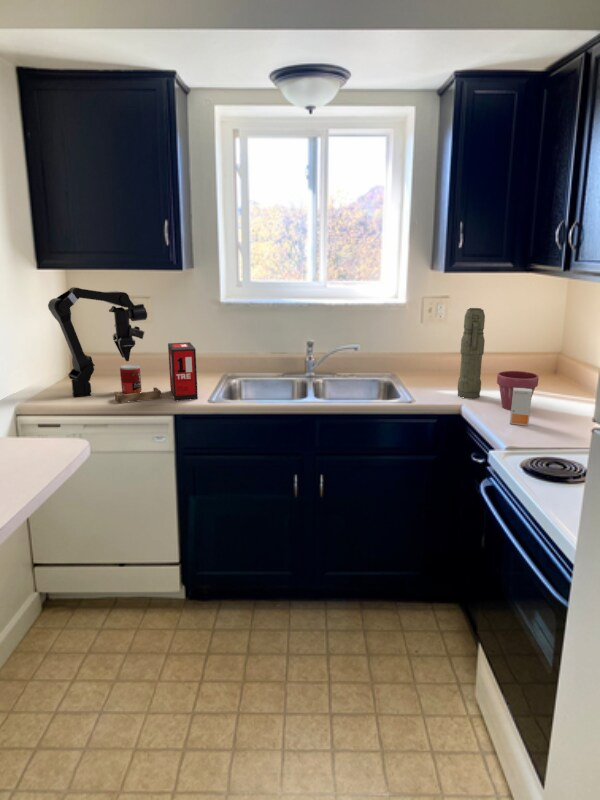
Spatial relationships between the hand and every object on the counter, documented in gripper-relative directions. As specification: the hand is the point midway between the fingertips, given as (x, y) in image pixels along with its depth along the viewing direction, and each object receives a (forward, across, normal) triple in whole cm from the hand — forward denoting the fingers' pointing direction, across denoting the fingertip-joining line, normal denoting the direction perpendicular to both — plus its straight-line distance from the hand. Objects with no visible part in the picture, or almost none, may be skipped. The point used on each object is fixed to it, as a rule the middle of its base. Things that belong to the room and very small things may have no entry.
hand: (125, 359), depth 244 cm
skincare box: (+13, -112, -110) cm, 158 cm away
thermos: (+13, -76, -120) cm, 143 cm away
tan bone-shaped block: (+12, -22, 0) cm, 25 cm away
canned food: (+12, -11, 0) cm, 16 cm away
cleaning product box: (+12, -24, -18) cm, 32 cm away
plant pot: (+13, -97, -124) cm, 158 cm away
